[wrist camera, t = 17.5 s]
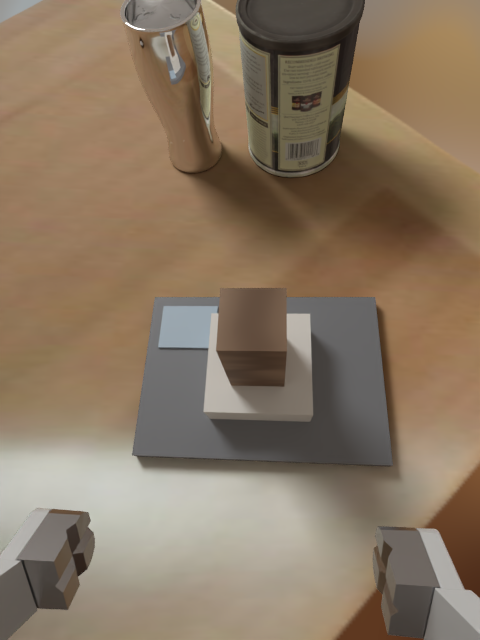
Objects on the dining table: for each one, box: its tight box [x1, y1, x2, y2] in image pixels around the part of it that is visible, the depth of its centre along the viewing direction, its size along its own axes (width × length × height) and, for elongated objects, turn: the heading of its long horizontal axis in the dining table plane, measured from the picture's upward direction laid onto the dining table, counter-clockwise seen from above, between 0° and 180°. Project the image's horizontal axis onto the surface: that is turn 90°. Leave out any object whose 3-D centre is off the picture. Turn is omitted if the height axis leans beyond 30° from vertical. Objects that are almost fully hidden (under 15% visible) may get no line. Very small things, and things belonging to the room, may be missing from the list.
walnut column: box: [216, 288, 287, 387], centre depth 27 cm, size 4×4×8 cm
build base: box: [132, 297, 393, 466], centre depth 32 cm, size 20×14×4 cm
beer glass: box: [120, 0, 222, 173], centre depth 38 cm, size 7×7×15 cm
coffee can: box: [236, 0, 365, 177], centre depth 38 cm, size 10×10×14 cm
